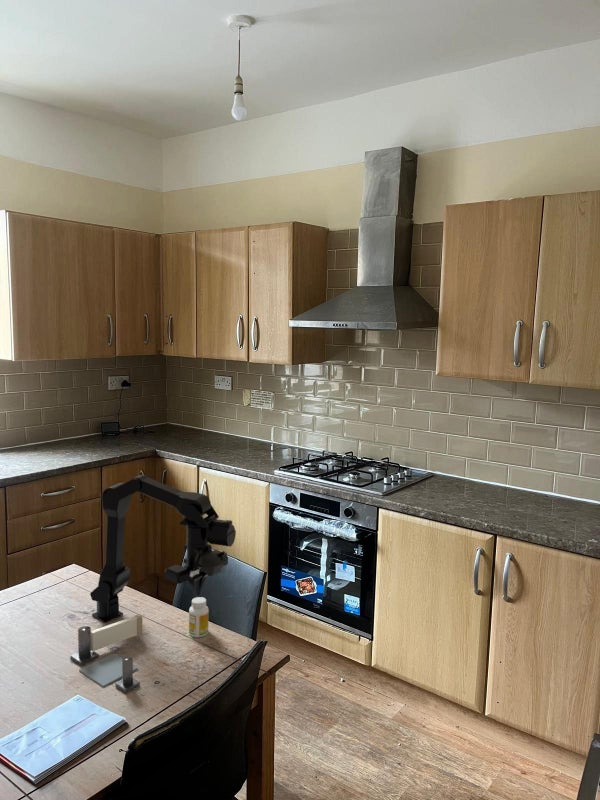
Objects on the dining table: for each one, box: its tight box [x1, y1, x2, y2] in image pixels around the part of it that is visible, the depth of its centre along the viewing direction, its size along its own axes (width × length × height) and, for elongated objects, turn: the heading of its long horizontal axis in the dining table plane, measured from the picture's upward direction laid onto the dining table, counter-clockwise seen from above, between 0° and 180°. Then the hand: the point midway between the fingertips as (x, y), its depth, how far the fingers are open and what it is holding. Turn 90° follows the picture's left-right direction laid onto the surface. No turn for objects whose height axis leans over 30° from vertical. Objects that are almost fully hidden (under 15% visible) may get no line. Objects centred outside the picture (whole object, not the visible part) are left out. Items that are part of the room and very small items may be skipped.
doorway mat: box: [79, 653, 139, 688], centre depth 149 cm, size 10×10×1 cm
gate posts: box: [69, 625, 141, 694], centre depth 148 cm, size 22×5×8 cm, turn 52°
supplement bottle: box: [188, 596, 210, 638], centre depth 168 cm, size 5×5×10 cm
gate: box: [91, 613, 143, 652], centre depth 160 cm, size 14×2×5 cm, turn 134°
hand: (197, 595), depth 167 cm, fingers closed
